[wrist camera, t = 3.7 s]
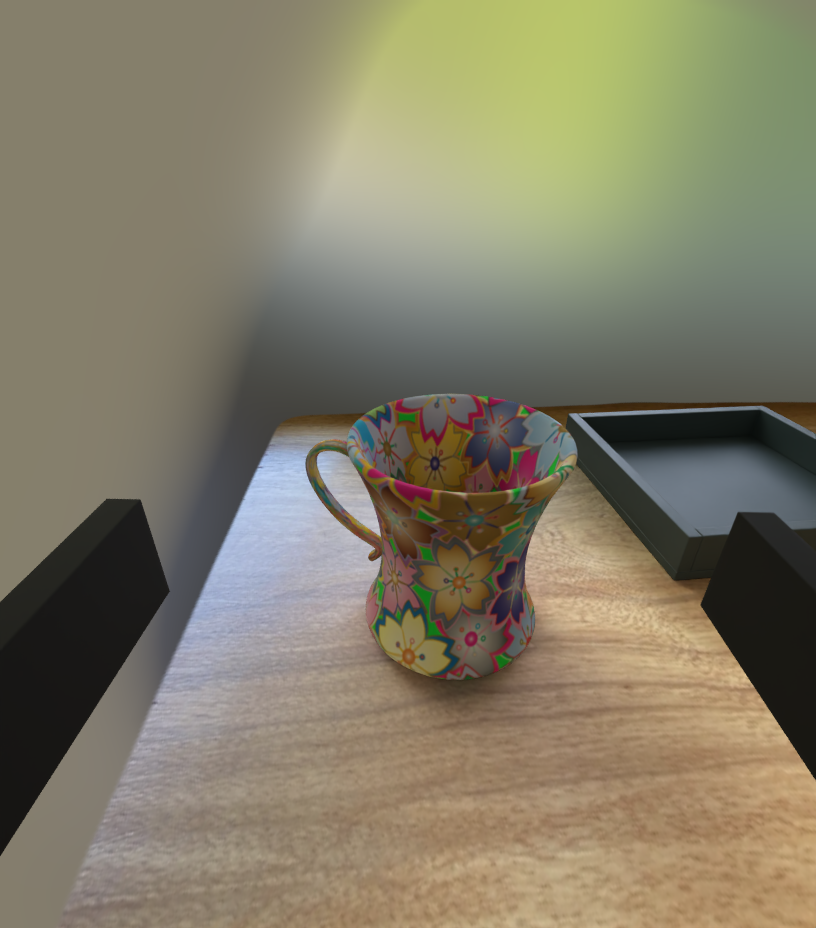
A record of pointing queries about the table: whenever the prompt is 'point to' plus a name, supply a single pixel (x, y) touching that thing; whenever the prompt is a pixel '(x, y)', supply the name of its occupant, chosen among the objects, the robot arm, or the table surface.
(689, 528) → the tray
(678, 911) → the table surface
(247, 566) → the table surface
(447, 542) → the mug
